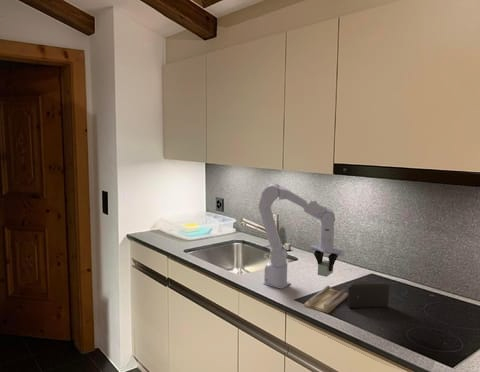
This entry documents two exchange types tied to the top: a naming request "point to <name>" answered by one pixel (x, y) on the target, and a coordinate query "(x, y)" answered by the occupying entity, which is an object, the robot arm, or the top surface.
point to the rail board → (326, 299)
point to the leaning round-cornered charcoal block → (368, 294)
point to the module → (324, 269)
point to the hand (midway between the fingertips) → (325, 269)
